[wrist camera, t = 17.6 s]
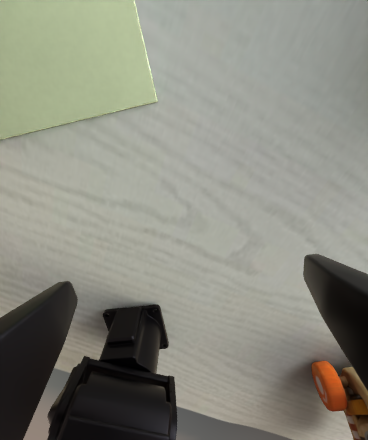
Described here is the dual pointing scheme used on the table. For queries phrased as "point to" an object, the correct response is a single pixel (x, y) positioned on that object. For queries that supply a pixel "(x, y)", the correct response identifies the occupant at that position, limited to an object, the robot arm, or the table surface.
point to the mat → (69, 62)
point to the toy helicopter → (343, 395)
